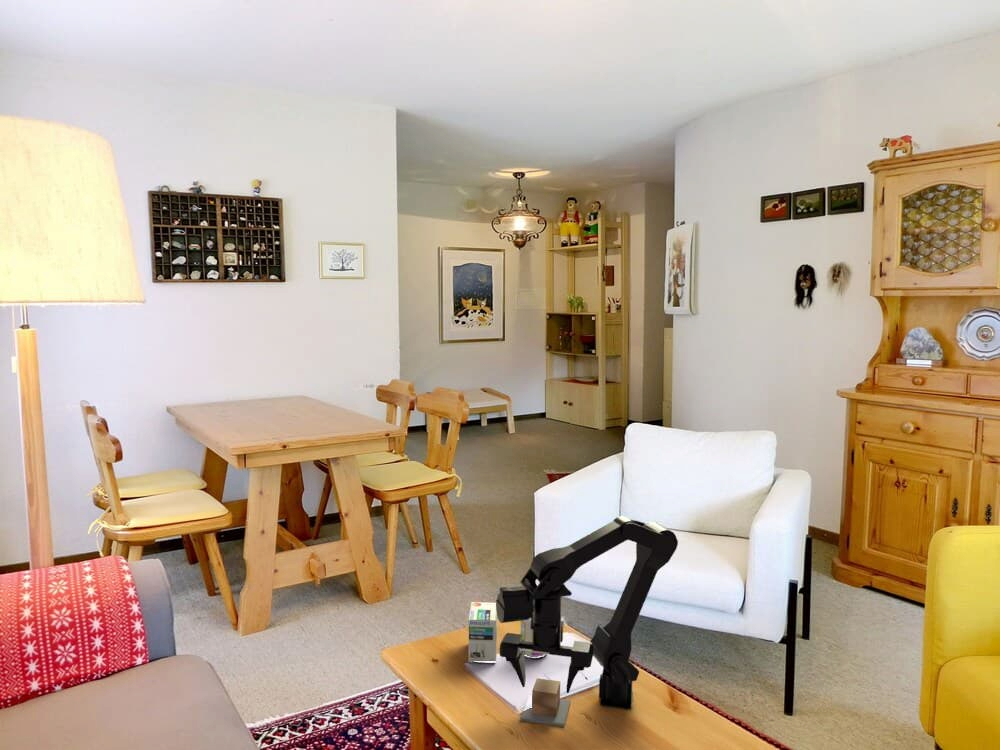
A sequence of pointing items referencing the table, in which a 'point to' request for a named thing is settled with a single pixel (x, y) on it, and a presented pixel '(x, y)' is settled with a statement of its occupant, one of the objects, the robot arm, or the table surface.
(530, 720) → the rubber mat
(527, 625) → the supplement bottle
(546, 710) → the walnut cube
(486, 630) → the light bulb box
